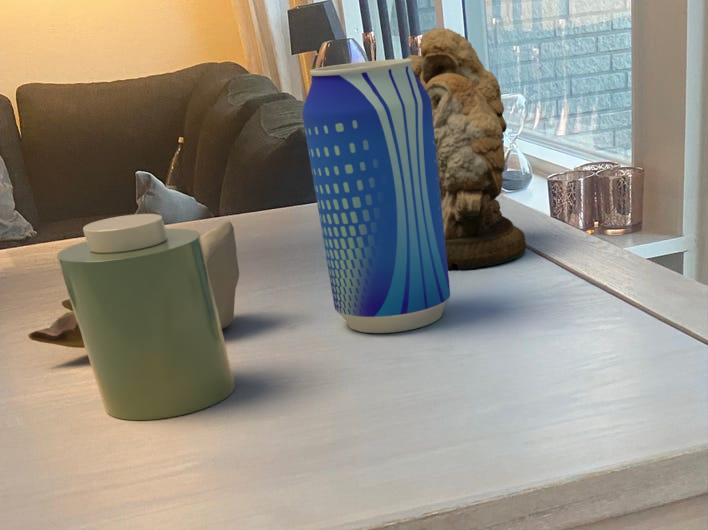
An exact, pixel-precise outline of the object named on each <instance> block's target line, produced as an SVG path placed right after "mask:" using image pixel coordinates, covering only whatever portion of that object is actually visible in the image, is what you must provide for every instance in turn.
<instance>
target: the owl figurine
mask: <svg viewBox="0 0 708 530" xmlns="http://www.w3.org/2000/svg"><path fill="white" fill-rule="evenodd" d="M419 49H420V55H419V54H417V55H414V54H410V55H408V57H406V58H405V59H411V60H412V61H413V65H412V70H413V71H414V73H415V75H416V76H417V78H418V79H419V81H420V82H421V84H422V85H423V87H424V89H425V90H426V92H427V93H428V95H429V97H430V99H431V106H432V116H433V126H434V136H435V146H436V156H437V166H438V176H439V186H440V196H441V206H442V216H443V226H444V236H445V246H446V256H447V266H448V270H451V269H454V265H453V264H455V265H456V267H457V268H458V269H459V270H468V269H469V270H470V269H478V268H481V267H484V266H486V267H487V266H488V267H489V266H495V265H497V264H504V263H507V262H509V261H511V260H514V259H518V258H520V257H522V256H523V255H524V254H525V252H526V249H527V242H526V236H525V233H524V232H523V230H522V229H520V228H519V227H518V226H516V225H514V222H513V221H512V220H510V219H509V218H507V217H505V216H504V215H503V213H502V212H501V204H500V201H498V200H497V197H499V196H500V195H501V194H502V189H503V172H504V171H505V166H506V157H505V152H504V149H505V148H504V144H503V134H504V133H505V132H506V131H507V128H508V125H507V122H506V120H505V118H504V116H503V114H504V111H505V106H504V103H503V102H502V91H501V87H500V83H499V81H498V79H497V77H496V76H495V75H494V74H495V73H493V72H491V71H489V70H487V69H486V68H485V66H484V64H483V62H482V61H481V60H480V58H479V55H478V53H477V51H476V50H475V48H474V47H473V46H472V43H471V42H470V41H468V39H466V38H465V36H463V35H461V34H460V33H458V32H456V31H454V30H452V29H450V28H445V27H444V28H443V27H442V28H432V29H430V30H428V31H426V32H425V33H423V35H422V37H421V38H420V42H419Z"/></svg>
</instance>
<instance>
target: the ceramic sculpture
mask: <svg viewBox="0 0 708 530" xmlns="http://www.w3.org/2000/svg"><path fill="white" fill-rule="evenodd" d="M126 215H127V214H125V215H124V216H126ZM234 229H235V228H234V226H233V224H232V222H231V221H229V220H228V221H225V222H223V223H222V224H221V225H220V226H217V227H214V228H212V229H210V230H208V231H206V232H204V233H203V234H201V235H200V239H201V243H202V247H203V251H204V256H205V260H206V264H207V268H208V273H209V277H210V281H211V285H212V289H213V294H214V298H215V302H216V306H217V311H218V315H219V319H220V323H221V328H222V330H224V329H226V328H228V327H229V326H230V324H231V323H232V321H233V319H234V315H235V303H236V302H235V301H236V291H237V290H236V289H237V286H238V282H239V279H240V268H239V262H238V254H237V253H238V252H237V243H236V237H235V230H234ZM61 306H62V307H63V308H64V309H67V310H69V311H67V312H65V313H64V314H62V315H61V316H59V317H58V318H57V319H56V320H55V321H54V322H53V323H52V324H51V325H50V326H49V327H46V328H42V329H40V330H35V331H32V332H30V333H29V334H27V336H28V338H29V339H30V340H31V341H35V342H39V343H44V344H51V345H56V346H62V347H68V348H76V349H77V348H79V349H86V348H85V345H84V342H83V339H82V336H81V333H80V329H79V326H78V323H77V320H76V317H75V314H74V311H73V307H72V304H71V301H70V298H67V299H64V300H62V301H61Z"/></svg>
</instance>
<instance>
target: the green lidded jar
mask: <svg viewBox="0 0 708 530" xmlns="http://www.w3.org/2000/svg"><path fill="white" fill-rule="evenodd" d="M125 215H126V216H125ZM125 215H120V216H119V215H118V216H114V217H109V218H105V219H104V218H103V219H100V220H97V221H96V220H95V221H93V222H90V223H88V224H86V225H84V226H83V228H82V231H83V235H84V238H85V241H83V242H79V243H76V244H73V245H70V246H68V247H65V248H63V249H62V250H60V251H59V252H58V253H57V254H56V260H57V263H58V266H59V270H60V273H61V275H62V279H63V283H64V285H65V289H66V292H67V295H68V299H70V301H71V304H72V307H73V311H74V314H75V317H76V320H77V323H78V326H79V329H80V333H81V336H82V339H83V342H84V345H85V348H84V349H85V351H86V355H87V357H88V361H89V363H90V367H91V370H92V373H93V377H94V379H95V382H96V386H97V389H98V393H99V395H100V399H101V401H102V404H103V409H104V411H105V412H106V413H107V414H108V415H109V416H111V417H113V418H116V419H122V420H127V421H151V420H161V419H162V420H163V419H168V418H175V417H179V416H184V415H187V414H192V413H195V412H199V411H201V410H203V409H206V408H209V407H211V406H214V405H216V404H218V403H220V402H222V401H223V400H225V399H226V398H228V397H229V396H230V395H232V393H233V392H234V390H235V387H236V382H235V379H234V375H233V370H232V366H231V362H230V358H229V354H228V349H227V344H226V340H225V336H224V332H223V329H222V328H221V323H220V319H219V315H218V311H217V306H216V302H215V298H214V294H213V289H212V285H211V281H210V277H209V273H208V268H207V264H206V260H205V256H204V251H203V247H202V243H201V239H200V236H201V235H200V233H199V232H198V231H196V230H192V229H186V228H166V225H165V221H164V217H163V216H162V215H160V214H156V213H137V214H135V213H134V214H125Z"/></svg>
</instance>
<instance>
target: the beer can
mask: <svg viewBox="0 0 708 530" xmlns="http://www.w3.org/2000/svg"><path fill="white" fill-rule="evenodd" d="M412 65H413V61H412V60H411V59H406V58H397V59H395V58H394V59H393V58H392V59H381V60H369V61H359V62H351V63H344V64H335V65H334V64H333V65H327V66H322V67H316V68H312V69H310V70H309V74H310V76H311V78H312V80H311V83H310V87H309V90H308V92H307V96H306V99H305V101H304V104H303V108H302V120H303V121H302V122H303V127H304V133H305V139H306V144H307V145H306V146H307V150H308V157H309V164H310V169H311V174H312V180H313V186H314V192H315V198H316V199H315V200H316V204H317V210H318V217H319V223H320V228H321V235H322V240H323V247H324V252H325V258H326V265H327V271H328V277H329V282H330V288H331V294H332V295H331V296H332V300H333V306H334V310H335V312H337V314H339V315H340V316H341V317H342V318H343V319H344V321H345V322H346V324H347V326H348V328H350V329H351V330H353V331H355V332H360V333H367V334H368V333H369V334H392V333H400V332H406V331H412V330H417V329H420V328H423V327H426V326H428V325H431V324H433V323H435V322H437V321H439V320H440V319H441V317H442V315H443V311H444V308H445V306H446V304H447V303H448V302H449V300H450V298H451V288H450V277H449V269H448V266H447V256H446V246H445V236H444V226H443V216H442V206H441V196H440V186H439V176H438V166H437V156H436V146H435V136H434V126H433V116H432V106H431V99H430V97H429V95H428V93H427V92H426V90H425V89H424V87H423V85H422V84H421V82H420V81H419V79H418V78H417V76H416V75H415V73H414V71H413V70H412Z"/></svg>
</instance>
